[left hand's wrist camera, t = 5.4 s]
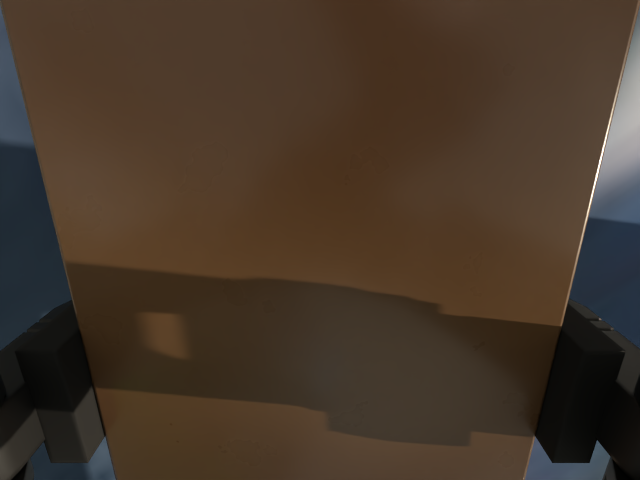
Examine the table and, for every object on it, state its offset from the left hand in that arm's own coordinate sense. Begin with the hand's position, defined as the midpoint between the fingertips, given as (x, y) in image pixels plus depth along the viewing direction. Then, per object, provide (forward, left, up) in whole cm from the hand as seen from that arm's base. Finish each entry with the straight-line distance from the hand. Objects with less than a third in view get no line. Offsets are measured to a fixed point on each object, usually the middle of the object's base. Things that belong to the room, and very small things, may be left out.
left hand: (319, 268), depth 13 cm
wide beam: (+22, +24, -1) cm, 32 cm away
